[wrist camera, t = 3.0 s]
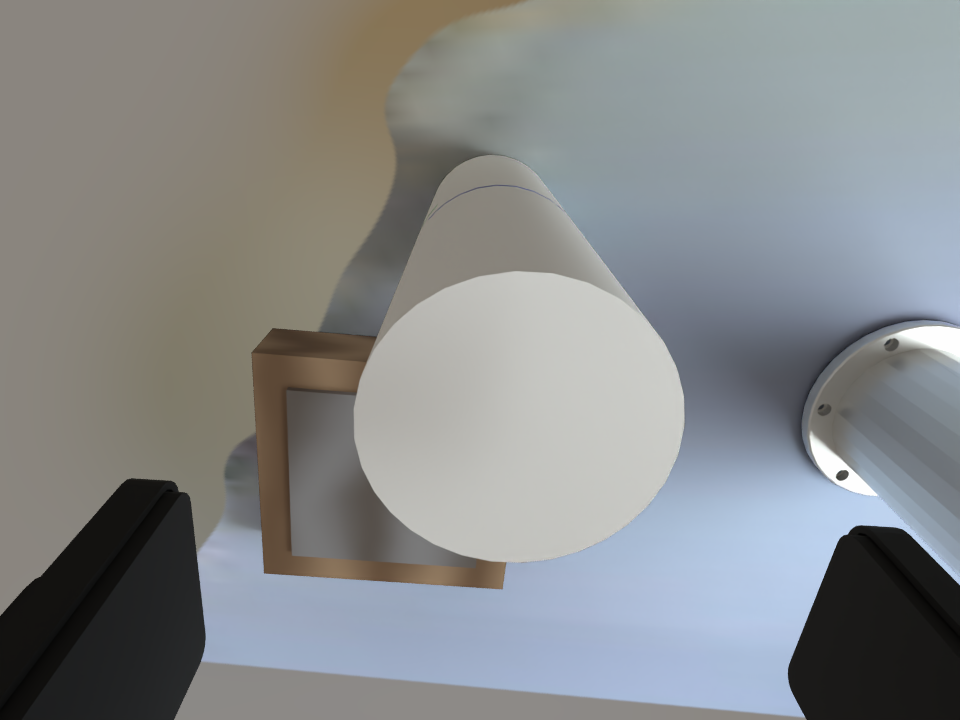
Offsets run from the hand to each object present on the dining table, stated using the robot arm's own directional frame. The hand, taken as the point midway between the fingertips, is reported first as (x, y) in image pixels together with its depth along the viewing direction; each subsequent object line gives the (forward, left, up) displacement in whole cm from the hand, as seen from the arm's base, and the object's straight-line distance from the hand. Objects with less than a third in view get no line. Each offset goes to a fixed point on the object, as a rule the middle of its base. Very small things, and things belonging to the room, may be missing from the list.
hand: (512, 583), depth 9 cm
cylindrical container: (0, 0, -30) cm, 30 cm away
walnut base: (+5, +16, -30) cm, 34 cm away
